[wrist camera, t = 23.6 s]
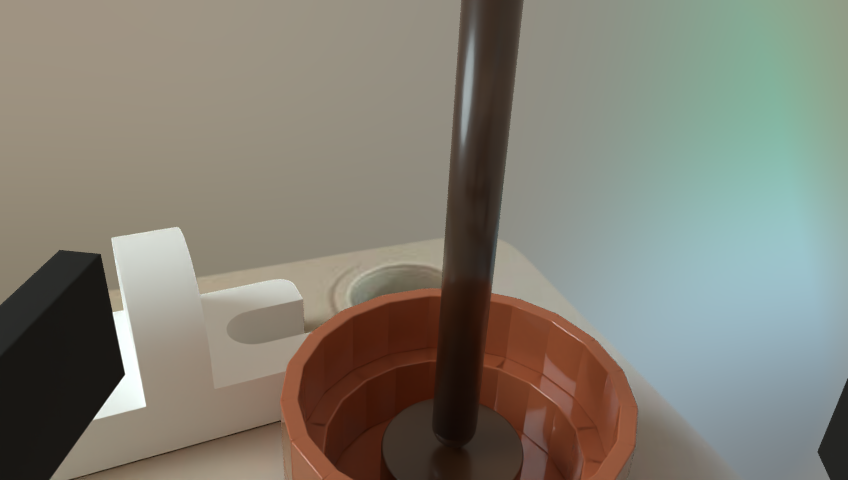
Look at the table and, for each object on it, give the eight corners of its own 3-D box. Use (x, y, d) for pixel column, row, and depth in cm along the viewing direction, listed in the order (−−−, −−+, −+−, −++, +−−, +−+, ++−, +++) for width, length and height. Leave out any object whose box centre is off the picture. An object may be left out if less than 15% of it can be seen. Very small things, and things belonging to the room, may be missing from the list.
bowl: (617, 435, 32) (644, 323, 29) (590, 710, 22) (626, 582, 19) (357, 374, 35) (358, 265, 32) (228, 595, 25) (211, 466, 22)
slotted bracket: (291, 318, 39) (284, 181, 35) (338, 404, 33) (335, 253, 29) (10, 382, 33) (-36, 230, 30) (10, 496, 28) (-45, 328, 24)
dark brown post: (527, 461, 30) (609, -47, 20) (501, 569, 26) (588, -12, 16) (404, 430, 31) (427, -64, 22) (359, 528, 27) (362, -36, 17)
